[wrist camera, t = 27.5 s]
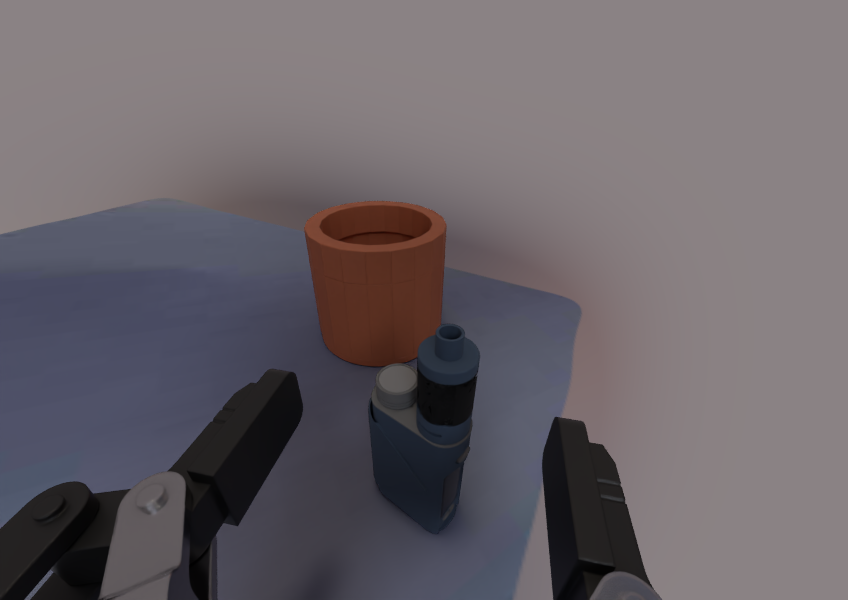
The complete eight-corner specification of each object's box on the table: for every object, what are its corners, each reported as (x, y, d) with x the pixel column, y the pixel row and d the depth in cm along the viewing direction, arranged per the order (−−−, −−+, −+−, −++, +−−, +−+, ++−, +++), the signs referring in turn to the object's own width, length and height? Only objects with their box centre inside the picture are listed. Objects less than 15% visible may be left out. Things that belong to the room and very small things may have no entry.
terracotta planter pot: (447, 303, 37) (453, 206, 31) (428, 375, 28) (432, 259, 23) (348, 290, 38) (338, 196, 33) (300, 356, 30) (276, 242, 24)
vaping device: (441, 546, 18) (460, 366, 12) (366, 483, 21) (346, 308, 14) (468, 505, 20) (498, 328, 13) (395, 452, 22) (391, 283, 16)
